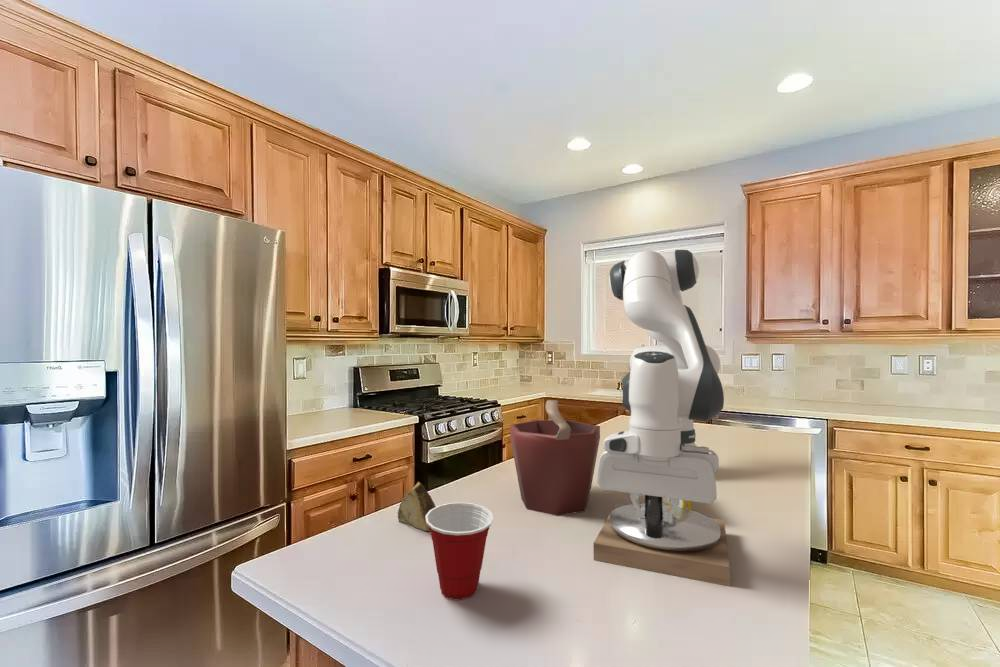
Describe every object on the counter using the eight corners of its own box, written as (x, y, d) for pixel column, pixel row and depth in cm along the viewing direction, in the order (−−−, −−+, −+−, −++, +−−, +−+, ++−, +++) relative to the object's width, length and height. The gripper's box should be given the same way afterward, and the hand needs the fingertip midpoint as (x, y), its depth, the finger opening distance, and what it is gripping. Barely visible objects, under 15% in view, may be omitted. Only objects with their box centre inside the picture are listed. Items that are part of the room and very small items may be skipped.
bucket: (591, 526, 97) (590, 409, 98) (493, 514, 104) (493, 405, 105) (603, 492, 120) (602, 397, 121) (522, 484, 128) (522, 394, 128)
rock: (383, 510, 100) (394, 519, 92) (405, 475, 104) (418, 481, 95) (422, 534, 103) (437, 545, 94) (443, 500, 107) (458, 507, 98)
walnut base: (615, 518, 102) (615, 504, 102) (724, 534, 93) (724, 519, 93) (593, 559, 82) (593, 543, 82) (729, 586, 73) (729, 567, 73)
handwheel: (625, 503, 101) (625, 465, 102) (725, 521, 91) (724, 478, 91) (595, 535, 84) (595, 489, 85) (713, 561, 74) (713, 508, 74)
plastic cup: (435, 617, 65) (435, 532, 65) (417, 581, 75) (417, 507, 75) (504, 600, 69) (504, 520, 69) (479, 568, 79) (479, 498, 79)
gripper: (718, 444, 80) (718, 523, 80) (602, 434, 89) (602, 505, 88) (718, 451, 75) (719, 537, 74) (594, 440, 83) (594, 516, 83)
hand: (654, 520), depth 81 cm, fingers open, 3 cm apart
